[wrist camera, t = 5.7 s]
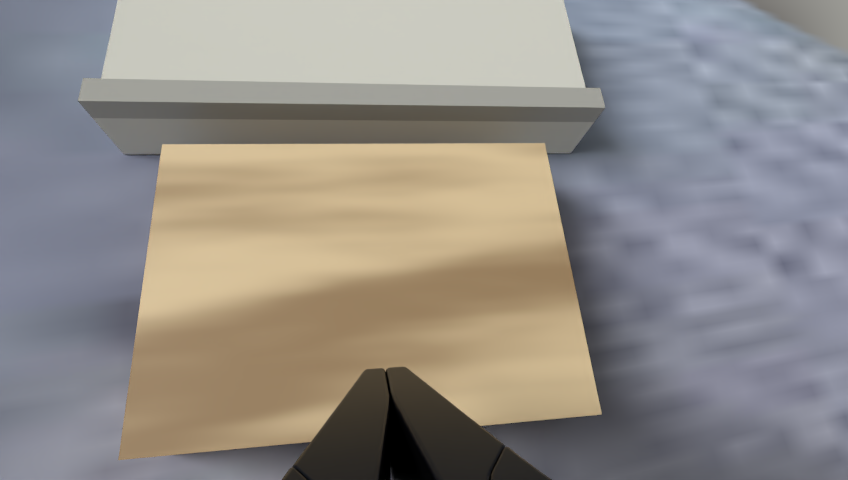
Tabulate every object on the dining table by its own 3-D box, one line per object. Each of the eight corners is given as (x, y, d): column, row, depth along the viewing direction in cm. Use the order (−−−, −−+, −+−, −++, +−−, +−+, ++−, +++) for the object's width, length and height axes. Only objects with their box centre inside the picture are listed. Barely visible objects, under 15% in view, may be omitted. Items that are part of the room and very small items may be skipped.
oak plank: (601, 414, 15) (544, 142, 18) (118, 459, 13) (162, 144, 16) (553, 417, 18) (514, 191, 22) (172, 453, 16) (198, 197, 20)
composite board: (570, 153, 23) (605, 107, 20) (123, 154, 20) (77, 100, 17) (542, 27, 26) (568, -31, 22) (149, 11, 23) (114, -57, 20)
